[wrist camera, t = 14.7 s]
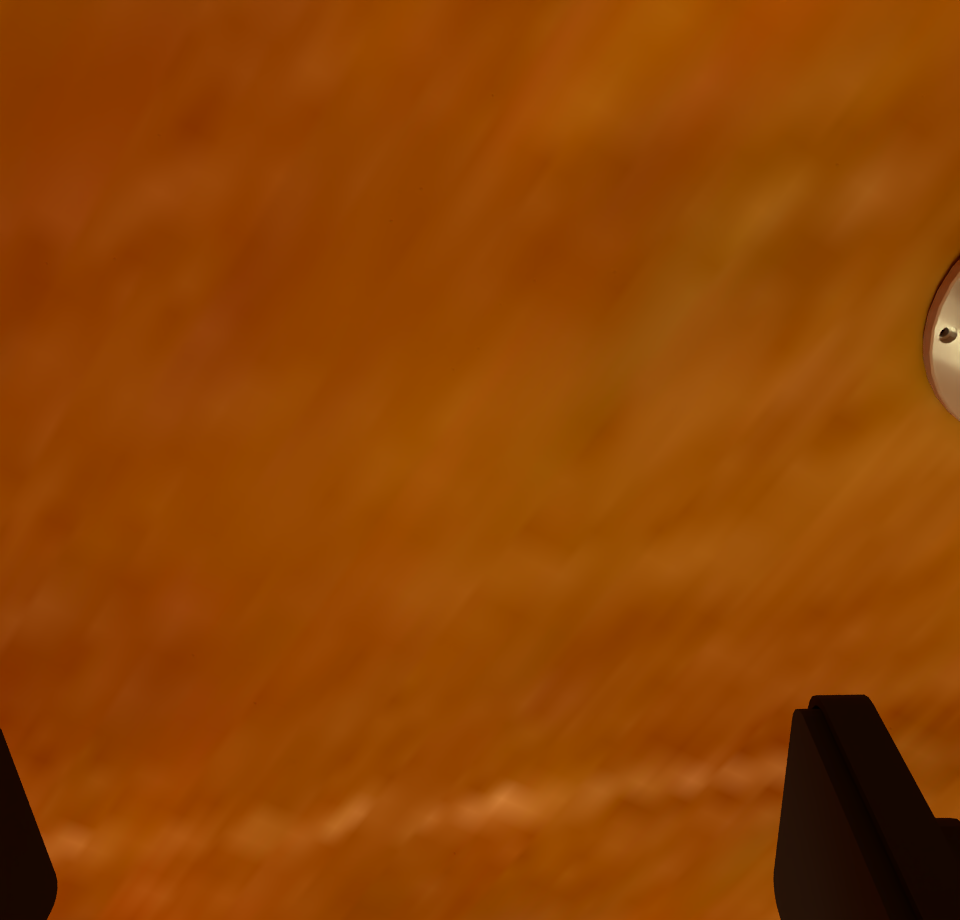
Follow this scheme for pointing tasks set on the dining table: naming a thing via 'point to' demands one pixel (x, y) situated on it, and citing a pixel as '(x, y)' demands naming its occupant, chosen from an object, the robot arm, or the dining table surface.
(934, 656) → the dining table surface
